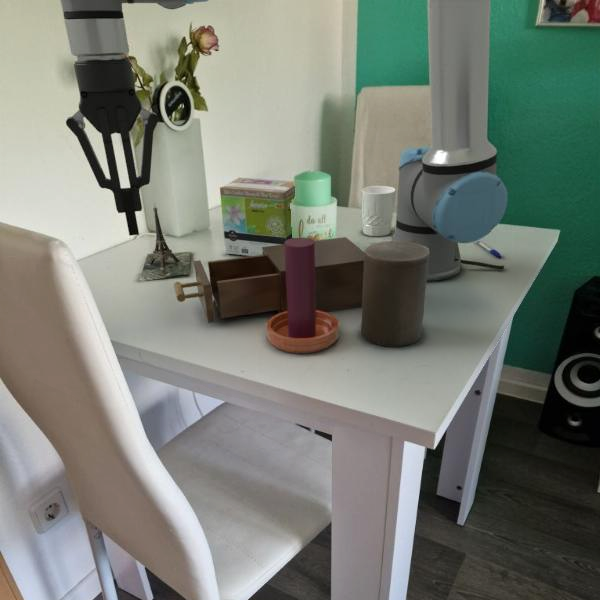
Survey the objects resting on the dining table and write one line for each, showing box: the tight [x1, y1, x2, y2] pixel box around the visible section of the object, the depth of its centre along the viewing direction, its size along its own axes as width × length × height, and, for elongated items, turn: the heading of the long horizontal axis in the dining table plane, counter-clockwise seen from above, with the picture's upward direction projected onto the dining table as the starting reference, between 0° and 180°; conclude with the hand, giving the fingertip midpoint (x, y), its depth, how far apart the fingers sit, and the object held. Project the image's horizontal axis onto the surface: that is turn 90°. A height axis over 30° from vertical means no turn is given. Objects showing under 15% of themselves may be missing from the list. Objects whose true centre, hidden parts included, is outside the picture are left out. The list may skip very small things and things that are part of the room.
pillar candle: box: [360, 240, 429, 348], centre depth 86 cm, size 10×10×15 cm
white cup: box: [361, 185, 397, 237], centre depth 133 cm, size 8×8×10 cm
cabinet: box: [262, 236, 365, 314], centre depth 101 cm, size 16×13×8 cm
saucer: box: [265, 310, 340, 354], centre depth 89 cm, size 11×11×2 cm
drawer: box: [173, 254, 281, 324], centre depth 97 cm, size 20×12×7 cm, turn 106°
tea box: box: [219, 177, 295, 257], centre depth 122 cm, size 15×10×15 cm
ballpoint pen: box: [477, 240, 502, 259], centre depth 122 cm, size 10×1×1 cm, turn 11°
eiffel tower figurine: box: [139, 203, 192, 282], centre depth 116 cm, size 15×10×13 cm
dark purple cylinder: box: [284, 237, 316, 338], centre depth 85 cm, size 4×4×15 cm
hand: (133, 232), depth 88 cm, fingers closed
